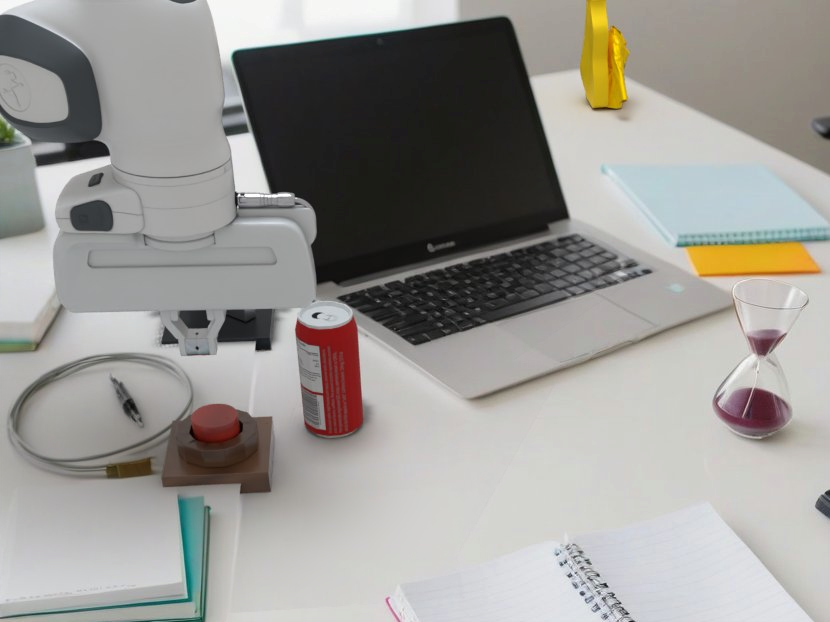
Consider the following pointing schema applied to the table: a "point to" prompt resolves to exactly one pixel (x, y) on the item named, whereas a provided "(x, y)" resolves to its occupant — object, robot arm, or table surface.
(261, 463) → the button block
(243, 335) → the panel
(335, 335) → the soda can
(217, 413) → the button
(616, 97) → the figure statuette
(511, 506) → the table surface
